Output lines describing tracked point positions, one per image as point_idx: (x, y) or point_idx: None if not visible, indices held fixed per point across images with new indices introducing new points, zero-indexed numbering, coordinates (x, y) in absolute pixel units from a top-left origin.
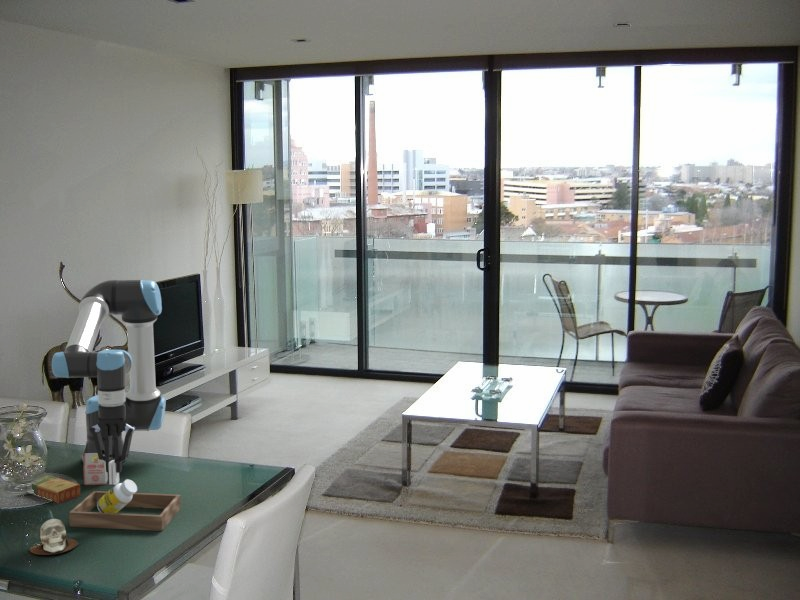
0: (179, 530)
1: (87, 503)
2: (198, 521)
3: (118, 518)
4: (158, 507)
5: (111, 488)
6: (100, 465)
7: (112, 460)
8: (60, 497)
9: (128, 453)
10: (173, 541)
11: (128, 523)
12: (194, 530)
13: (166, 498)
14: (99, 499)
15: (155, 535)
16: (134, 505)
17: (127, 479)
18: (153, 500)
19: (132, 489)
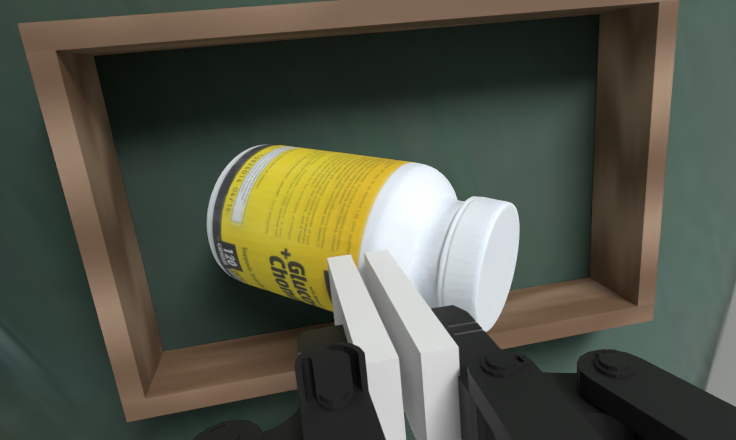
0: (671, 264)
1: (105, 200)
2: (730, 150)
3: None
4: (501, 21)
5: (328, 278)
6: None
7: (375, 384)
8: None
9: (695, 401)
10: (671, 364)
11: None
12: (729, 247)
13: (582, 9)
14: (225, 256)
15: (589, 336)
16: (358, 32)
17: (482, 266)
18: (492, 19)
19: (507, 274)
